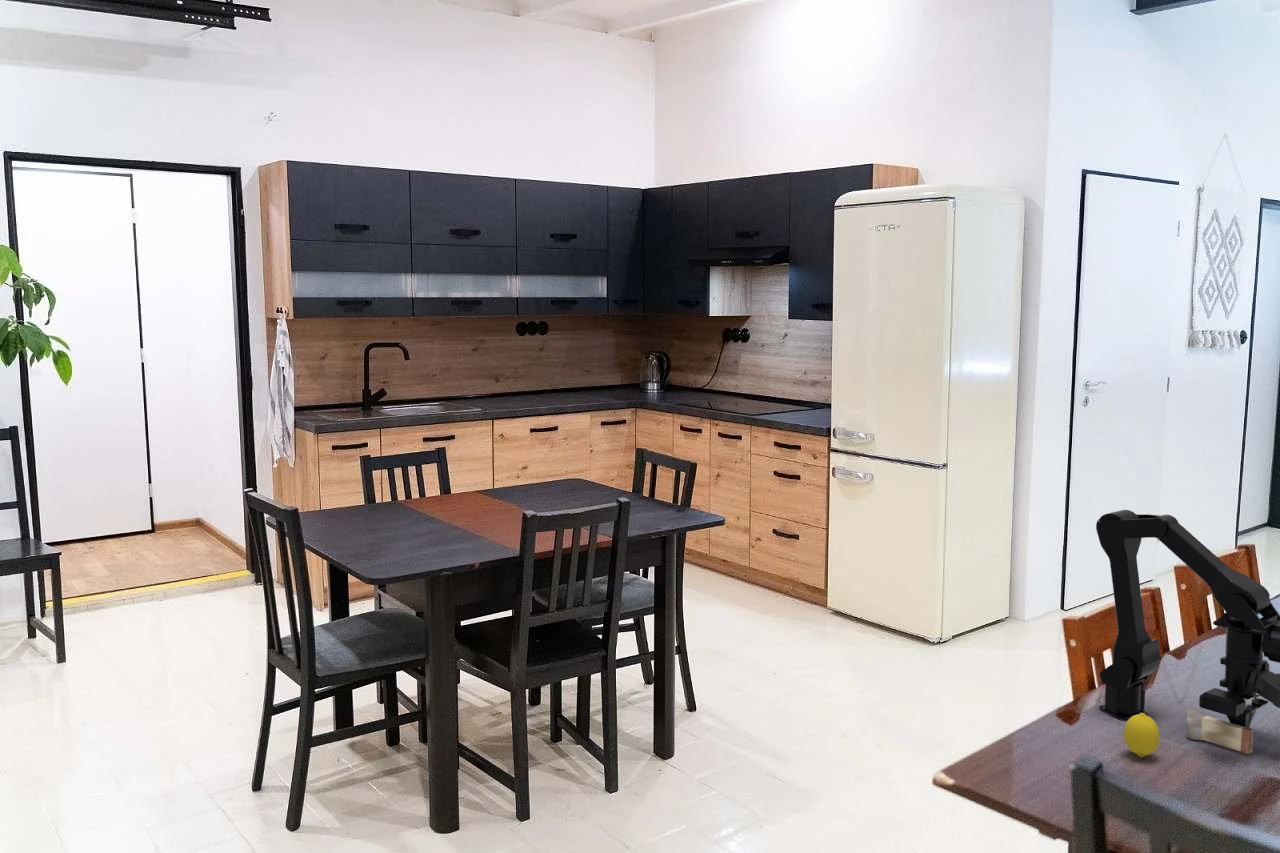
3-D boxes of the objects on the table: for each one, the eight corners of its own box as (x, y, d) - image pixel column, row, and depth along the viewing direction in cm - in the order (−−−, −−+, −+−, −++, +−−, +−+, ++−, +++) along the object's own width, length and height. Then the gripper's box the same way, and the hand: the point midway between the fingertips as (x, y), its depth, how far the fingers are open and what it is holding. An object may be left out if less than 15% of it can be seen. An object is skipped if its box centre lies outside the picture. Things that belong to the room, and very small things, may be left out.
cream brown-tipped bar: (1183, 736, 188) (1184, 712, 188) (1191, 732, 190) (1192, 709, 190) (1245, 755, 180) (1247, 731, 179) (1253, 751, 181) (1255, 727, 181)
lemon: (1156, 766, 177) (1158, 721, 176) (1121, 759, 180) (1123, 715, 179) (1160, 754, 181) (1161, 711, 181) (1125, 748, 184) (1127, 705, 183)
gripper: (1266, 678, 170) (1263, 768, 172) (1318, 654, 181) (1314, 739, 182) (1198, 661, 179) (1196, 746, 181) (1251, 639, 190) (1248, 720, 192)
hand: (1241, 738), depth 184 cm, fingers closed
